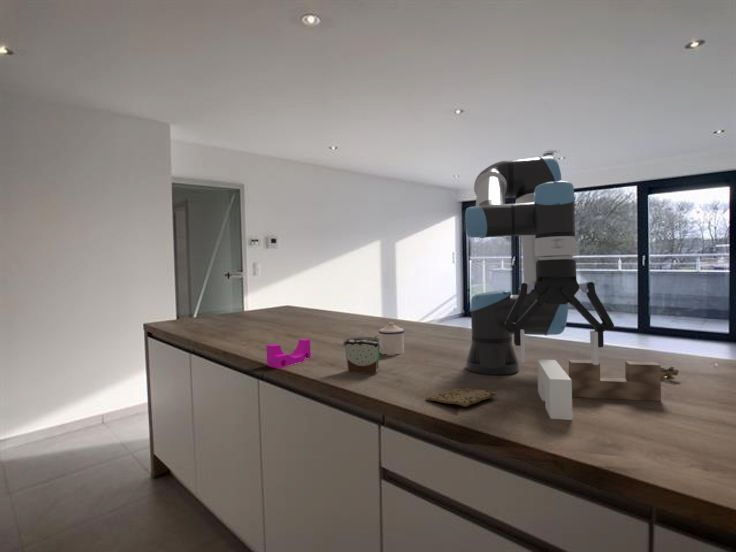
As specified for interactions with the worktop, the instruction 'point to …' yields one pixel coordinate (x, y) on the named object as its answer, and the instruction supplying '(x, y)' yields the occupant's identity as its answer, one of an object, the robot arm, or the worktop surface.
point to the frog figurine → (668, 374)
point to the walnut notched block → (616, 381)
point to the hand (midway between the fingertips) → (557, 362)
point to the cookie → (462, 396)
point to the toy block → (280, 359)
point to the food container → (362, 354)
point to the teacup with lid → (391, 339)
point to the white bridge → (555, 389)
